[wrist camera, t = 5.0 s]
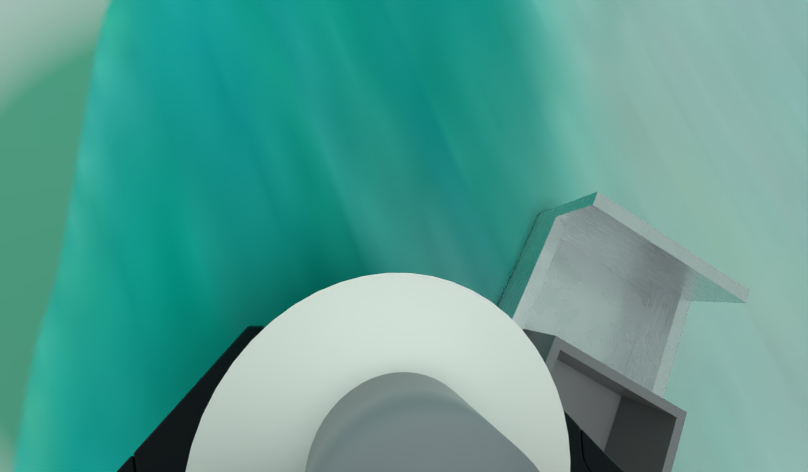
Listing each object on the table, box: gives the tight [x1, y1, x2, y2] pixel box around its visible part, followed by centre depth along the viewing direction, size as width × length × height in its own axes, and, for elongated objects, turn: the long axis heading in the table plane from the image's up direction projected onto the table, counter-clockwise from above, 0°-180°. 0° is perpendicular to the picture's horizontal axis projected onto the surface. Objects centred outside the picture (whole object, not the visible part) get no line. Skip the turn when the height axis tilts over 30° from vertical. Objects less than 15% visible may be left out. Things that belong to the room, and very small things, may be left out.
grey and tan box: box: [523, 329, 687, 472], centre depth 19 cm, size 11×12×8 cm
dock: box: [498, 192, 749, 398], centre depth 23 cm, size 13×13×6 cm
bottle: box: [186, 273, 570, 472], centre depth 9 cm, size 6×6×13 cm
